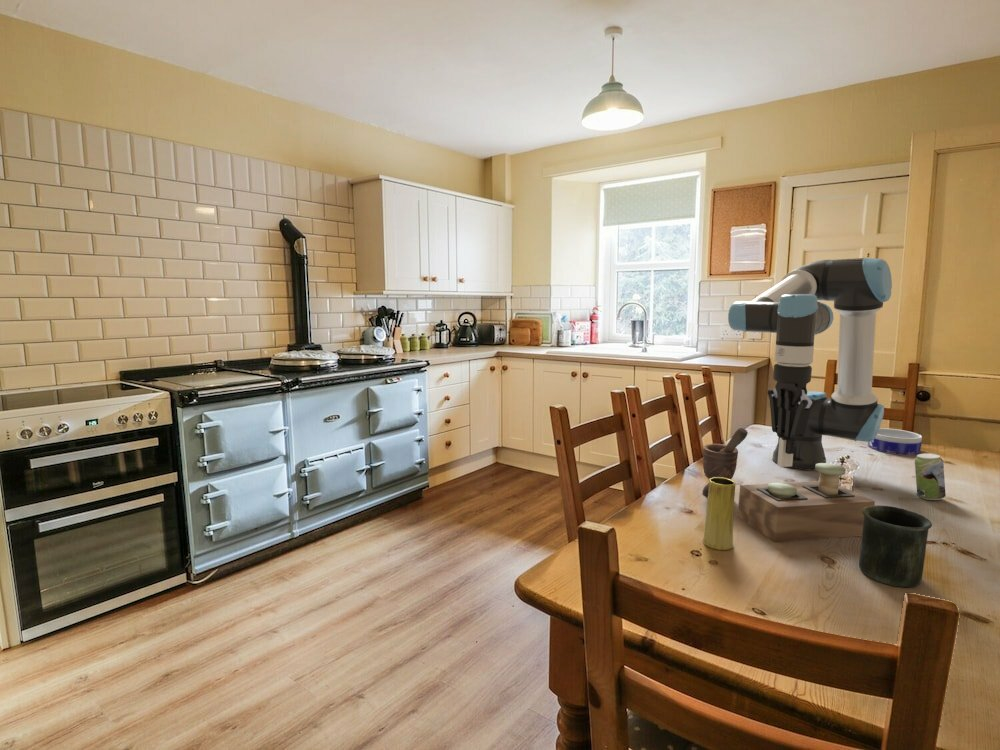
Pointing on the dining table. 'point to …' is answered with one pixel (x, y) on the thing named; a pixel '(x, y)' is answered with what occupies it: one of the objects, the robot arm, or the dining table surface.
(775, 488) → the peg
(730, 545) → the vase
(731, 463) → the mortar and pestle
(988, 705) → the dining table surface
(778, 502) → the socket block
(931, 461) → the beverage can
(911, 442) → the dog bowl
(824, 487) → the peg
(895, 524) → the mug
